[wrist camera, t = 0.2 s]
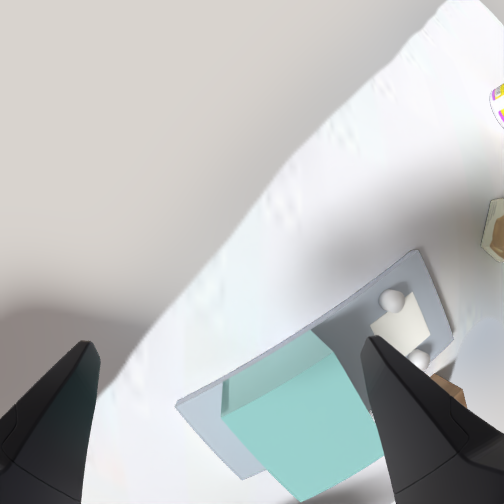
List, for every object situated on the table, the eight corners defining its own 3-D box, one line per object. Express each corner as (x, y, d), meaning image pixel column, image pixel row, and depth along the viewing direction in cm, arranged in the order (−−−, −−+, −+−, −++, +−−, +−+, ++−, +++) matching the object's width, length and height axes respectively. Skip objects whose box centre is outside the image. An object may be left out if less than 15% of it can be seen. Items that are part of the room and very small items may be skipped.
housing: (363, 418, 23) (390, 450, 17) (288, 462, 22) (300, 502, 16) (309, 329, 22) (333, 352, 17) (222, 381, 22) (220, 417, 16)
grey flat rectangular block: (447, 336, 25) (463, 342, 22) (241, 473, 23) (242, 489, 21) (411, 250, 25) (428, 249, 22) (176, 400, 23) (171, 415, 20)
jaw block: (442, 396, 25) (468, 413, 20) (415, 419, 25) (439, 440, 20) (434, 373, 25) (462, 389, 20) (405, 397, 25) (431, 417, 20)
